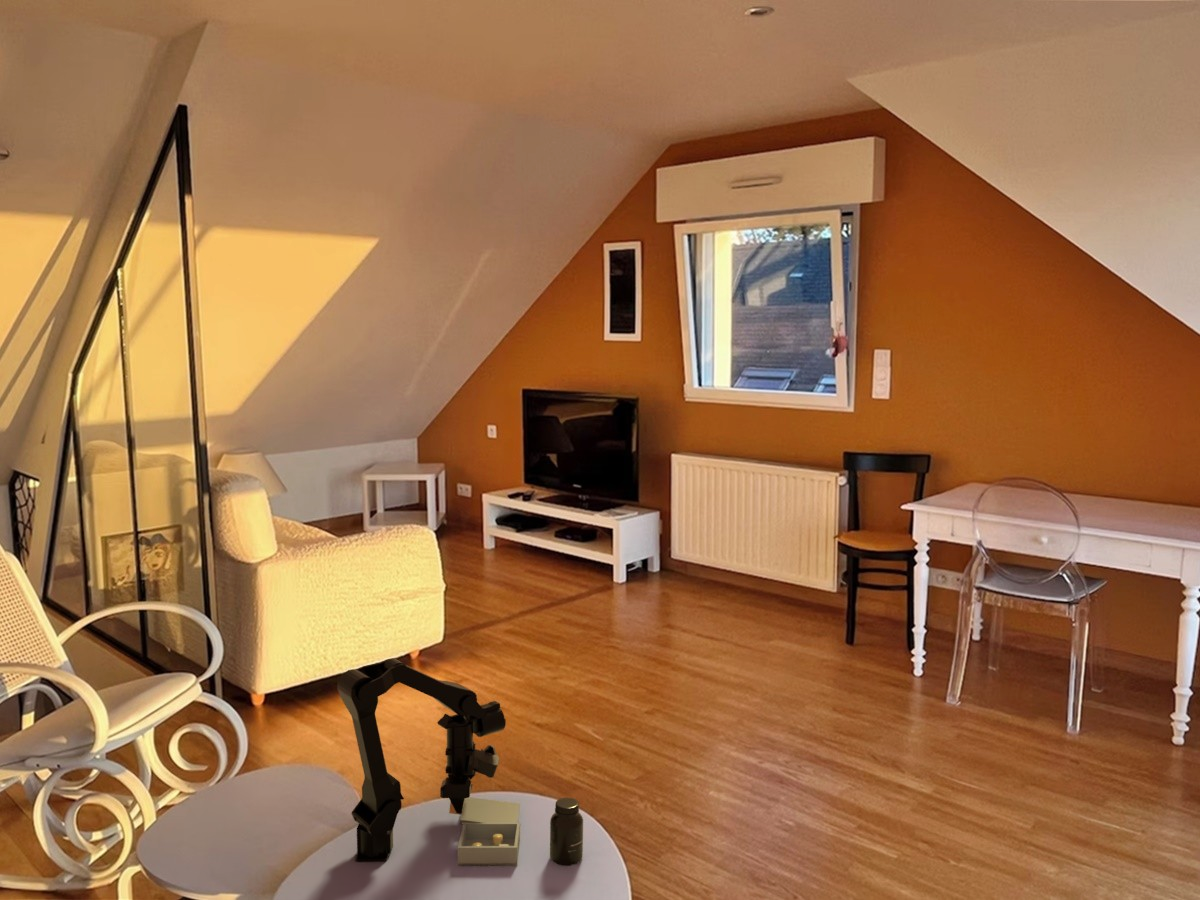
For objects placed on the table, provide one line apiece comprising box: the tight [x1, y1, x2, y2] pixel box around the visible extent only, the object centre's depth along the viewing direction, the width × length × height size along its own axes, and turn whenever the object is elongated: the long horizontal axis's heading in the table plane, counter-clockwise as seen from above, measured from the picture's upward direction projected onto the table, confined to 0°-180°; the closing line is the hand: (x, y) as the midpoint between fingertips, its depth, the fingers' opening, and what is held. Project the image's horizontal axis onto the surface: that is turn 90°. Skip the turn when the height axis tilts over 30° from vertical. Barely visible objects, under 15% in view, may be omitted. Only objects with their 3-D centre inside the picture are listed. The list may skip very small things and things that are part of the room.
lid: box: [448, 797, 521, 825], centre depth 209 cm, size 15×10×5 cm
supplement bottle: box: [549, 797, 584, 867], centre depth 195 cm, size 7×7×12 cm
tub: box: [457, 822, 521, 867], centre depth 197 cm, size 12×10×4 cm
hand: (460, 809), depth 209 cm, fingers closed on lid, 3 cm apart
